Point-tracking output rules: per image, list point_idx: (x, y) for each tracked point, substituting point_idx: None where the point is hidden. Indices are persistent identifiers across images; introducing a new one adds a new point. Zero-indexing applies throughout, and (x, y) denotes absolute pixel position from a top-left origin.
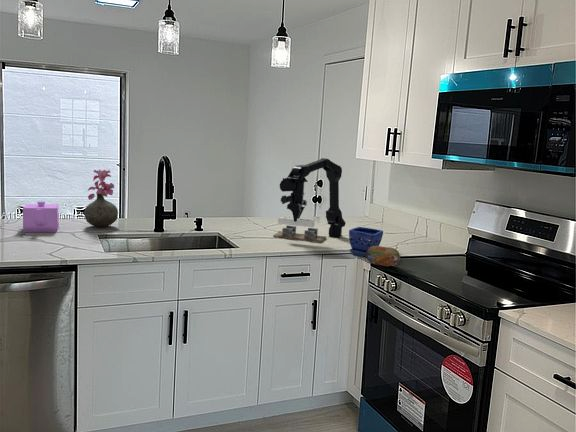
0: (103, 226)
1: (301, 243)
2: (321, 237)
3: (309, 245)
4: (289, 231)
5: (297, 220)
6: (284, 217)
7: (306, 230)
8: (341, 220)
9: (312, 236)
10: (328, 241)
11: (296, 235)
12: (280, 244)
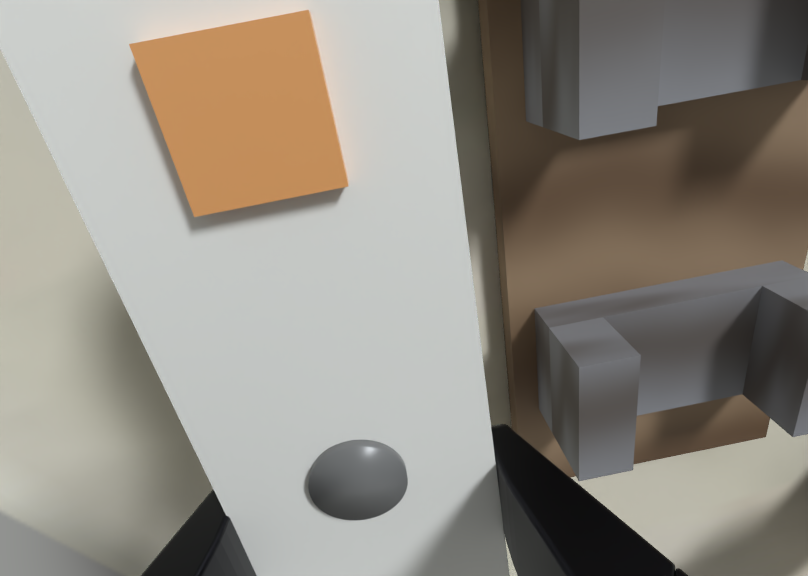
0: None
1: None
2: (692, 426)
3: None
4: (557, 90)
5: (268, 572)
6: (214, 94)
7: (624, 374)
8: None
9: (551, 420)
10: (610, 490)
11: (672, 144)
12: (17, 164)
